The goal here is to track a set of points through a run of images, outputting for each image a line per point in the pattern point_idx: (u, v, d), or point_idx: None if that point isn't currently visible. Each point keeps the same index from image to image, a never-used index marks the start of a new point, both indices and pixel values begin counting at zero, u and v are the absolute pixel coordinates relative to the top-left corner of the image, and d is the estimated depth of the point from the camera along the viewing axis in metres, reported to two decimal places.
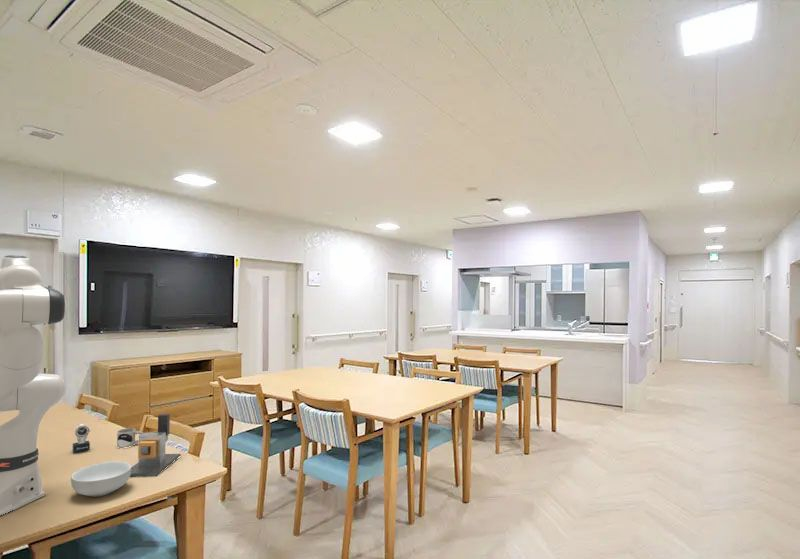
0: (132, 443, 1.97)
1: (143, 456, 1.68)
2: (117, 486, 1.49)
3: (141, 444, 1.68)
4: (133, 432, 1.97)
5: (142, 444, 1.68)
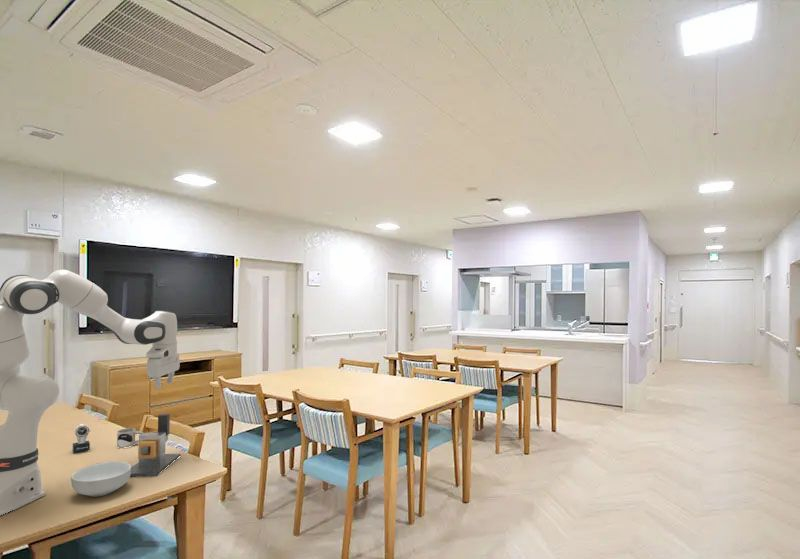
0: (132, 443, 1.97)
1: (143, 456, 1.68)
2: (117, 486, 1.49)
3: (141, 444, 1.68)
4: (133, 432, 1.97)
5: (142, 444, 1.68)
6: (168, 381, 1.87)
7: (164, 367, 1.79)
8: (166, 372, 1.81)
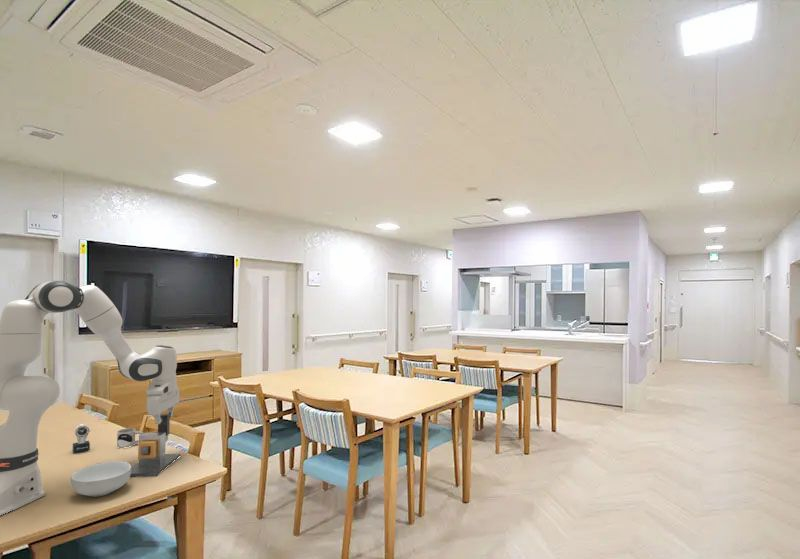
0: (132, 443, 1.97)
1: (143, 456, 1.68)
2: (117, 486, 1.49)
3: (141, 444, 1.68)
4: (133, 432, 1.97)
5: (142, 444, 1.68)
6: None
7: (163, 402, 1.78)
8: (166, 407, 1.80)
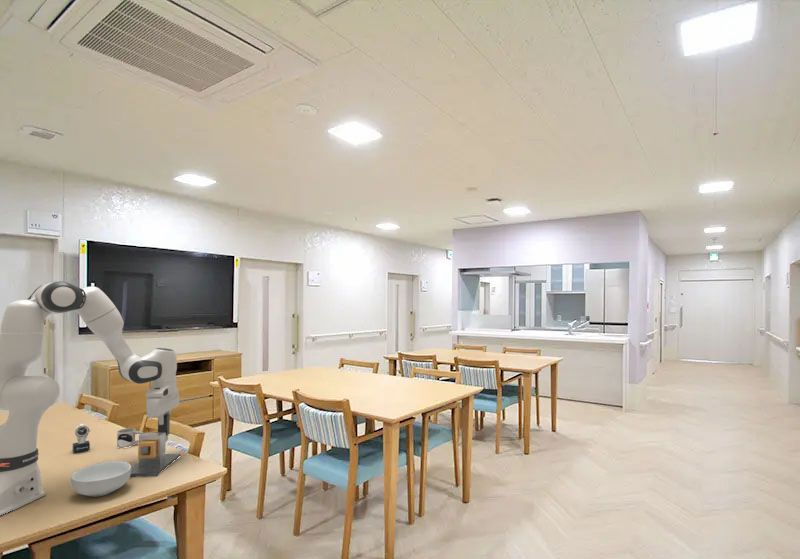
0: (132, 443, 1.97)
1: (143, 456, 1.68)
2: (117, 486, 1.49)
3: (141, 444, 1.68)
4: (133, 432, 1.97)
5: (142, 444, 1.68)
6: None
7: (163, 405, 1.78)
8: (165, 410, 1.80)
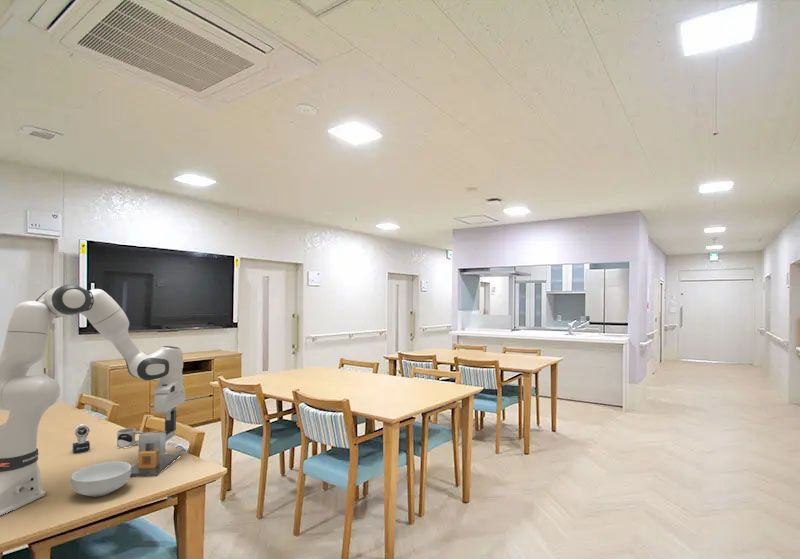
0: (132, 443, 1.97)
1: (143, 466, 1.69)
2: (117, 486, 1.49)
3: (142, 454, 1.69)
4: (133, 432, 1.97)
5: (142, 454, 1.69)
6: None
7: (170, 401, 1.84)
8: (172, 406, 1.86)
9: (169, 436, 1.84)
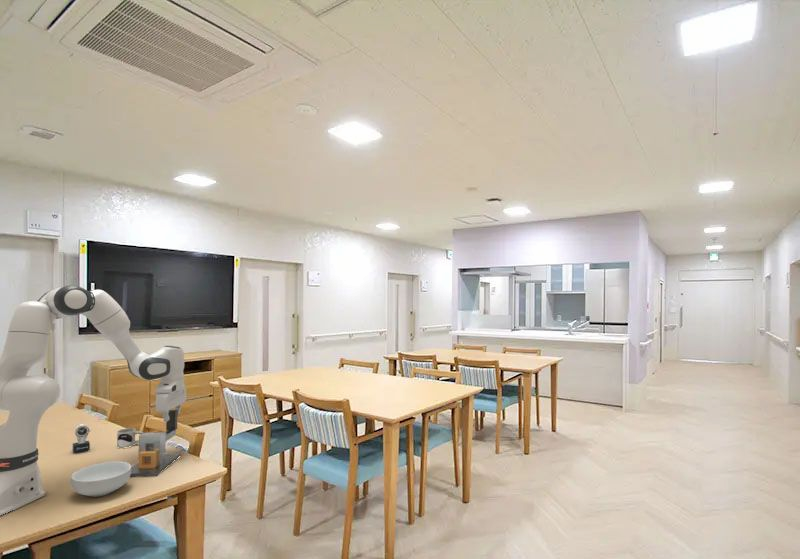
0: (132, 443, 1.97)
1: (143, 466, 1.69)
2: (117, 486, 1.49)
3: (142, 454, 1.69)
4: (133, 432, 1.97)
5: (142, 454, 1.69)
6: None
7: (171, 401, 1.85)
8: (174, 406, 1.87)
9: (170, 435, 1.86)
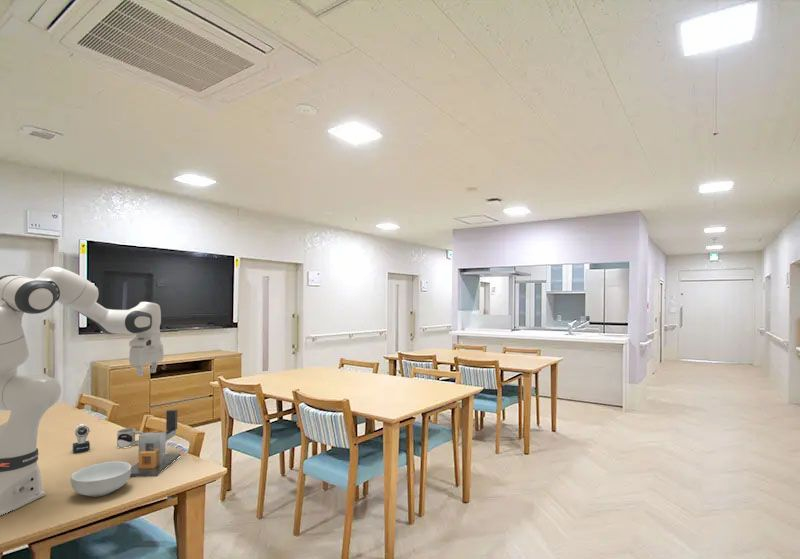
0: (132, 443, 1.97)
1: (143, 466, 1.69)
2: (117, 486, 1.49)
3: (142, 454, 1.69)
4: (133, 432, 1.97)
5: (142, 454, 1.69)
6: (151, 371, 1.92)
7: (146, 356, 1.84)
8: (149, 361, 1.86)
9: (170, 435, 1.86)
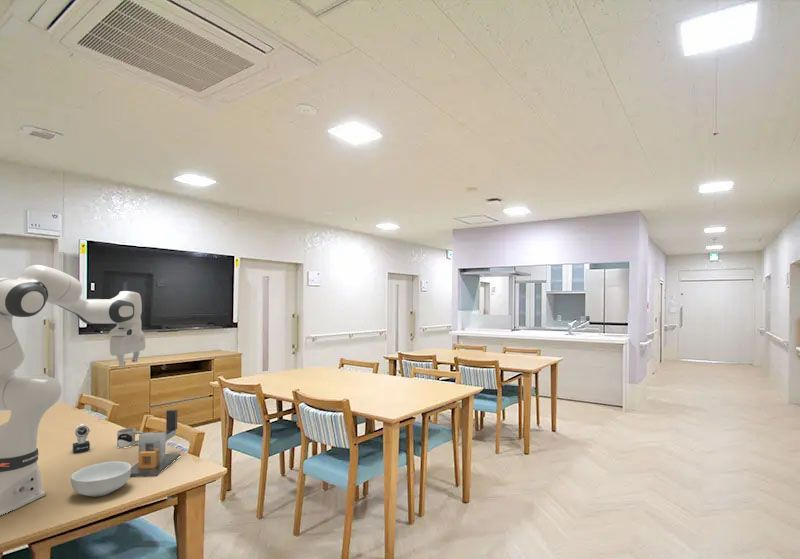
0: (132, 443, 1.97)
1: (143, 466, 1.69)
2: (117, 486, 1.49)
3: (142, 454, 1.69)
4: (133, 432, 1.97)
5: (142, 454, 1.69)
6: (133, 360, 1.91)
7: (127, 345, 1.83)
8: (130, 351, 1.85)
9: (170, 435, 1.86)
